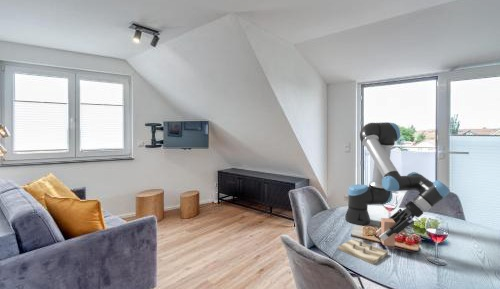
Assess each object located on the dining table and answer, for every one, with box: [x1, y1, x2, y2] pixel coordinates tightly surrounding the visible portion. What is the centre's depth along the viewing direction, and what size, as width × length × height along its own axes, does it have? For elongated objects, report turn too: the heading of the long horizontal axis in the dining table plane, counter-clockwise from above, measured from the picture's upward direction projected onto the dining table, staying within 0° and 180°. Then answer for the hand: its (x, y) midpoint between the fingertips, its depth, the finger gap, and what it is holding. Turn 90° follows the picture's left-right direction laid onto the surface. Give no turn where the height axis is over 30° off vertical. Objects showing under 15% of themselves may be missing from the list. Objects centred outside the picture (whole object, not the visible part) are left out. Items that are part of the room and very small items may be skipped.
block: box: [380, 217, 396, 247], centre depth 125 cm, size 5×5×12 cm
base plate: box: [337, 238, 389, 265], centre depth 123 cm, size 14×18×4 cm
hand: (379, 236), depth 126 cm, fingers closed on block, 5 cm apart
